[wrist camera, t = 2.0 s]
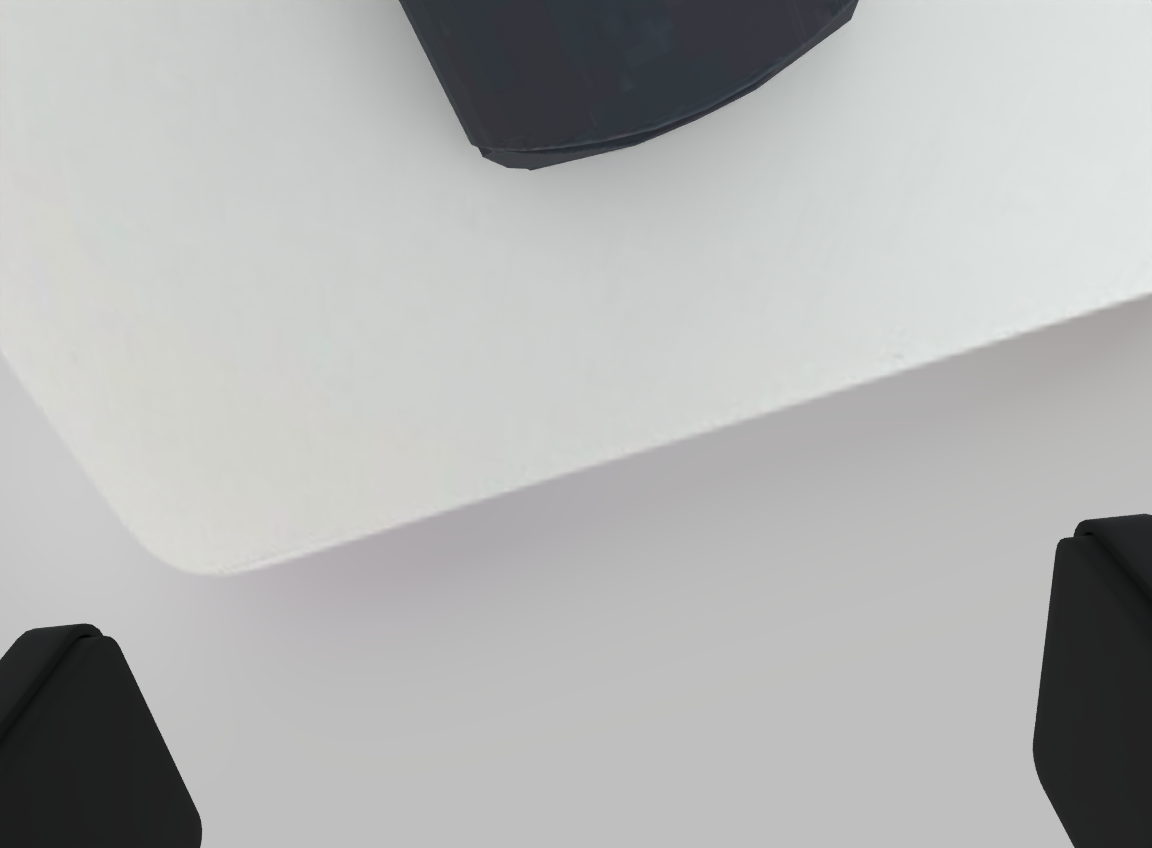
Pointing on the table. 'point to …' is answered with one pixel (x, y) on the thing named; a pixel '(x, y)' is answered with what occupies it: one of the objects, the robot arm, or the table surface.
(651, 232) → the table surface
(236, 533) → the table surface
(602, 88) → the sight
